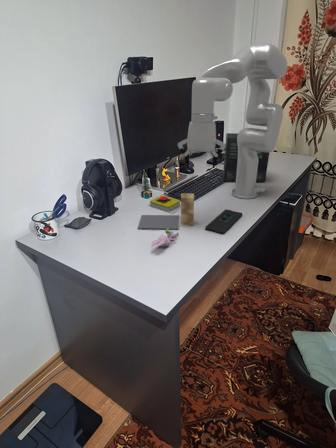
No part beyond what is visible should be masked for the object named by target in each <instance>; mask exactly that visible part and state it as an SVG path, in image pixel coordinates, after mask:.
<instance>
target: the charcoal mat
mask: <svg viewBox="0 0 336 448" xmlns="http://www.w3.org/2000/svg"><path fill="white" fill-rule="evenodd" d="M179 223H180V214H178V215H176V214H174V215H173V214H169V215H167V214H164V215H163V214H141V216H140V220H139V222H138V226H137V230H147V231H148V230H149V231H151V230H152V231H154V230H155V231H159V230H161V231H162V230H164V231H166V229H169V231H179V226H180V225H179Z"/></svg>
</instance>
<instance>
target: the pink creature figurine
mask: <svg viewBox="0 0 336 448" xmlns="http://www.w3.org/2000/svg"><path fill="white" fill-rule="evenodd" d="M173 231H174V230H169V229H166V230H164V232H165V234H166V235H164V234H161V235H160V236H159V237H158V238H156V239H154V240H153V241H152V242H151V247H152V248H153V247H155V249H157V248H159V247H160V246H161V247H165V246H169V245H170V244H171V241H177V238H178V237H179V232H173Z"/></svg>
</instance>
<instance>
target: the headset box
mask: <svg viewBox="0 0 336 448" xmlns="http://www.w3.org/2000/svg"><path fill="white" fill-rule="evenodd" d="M238 133H239V132H238ZM238 133H237V132H236V133H234V132H233V133H232V132H231V133H230V132H228V133H226V134H225V144H226V147H225V148H224V150H225V151H224V158H223V159H224V160H223V169H222V170H223V172H222V179H224V180H223V182H226V183H227V182H229V183H232V182H234V183H236V173H237V162H238V144H237V136H238ZM256 153H257V155H258V169H257V178H256V184H258V183H259V184H260V183H262V184H264V183H266V180H267V179H266V178H267V173H268V170H267V169H268V167H269V166H268V165H269V160H270V159H269V158H270V152H269V153H267V152H259V151H256Z"/></svg>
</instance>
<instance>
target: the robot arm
mask: <svg viewBox="0 0 336 448" xmlns="http://www.w3.org/2000/svg"><path fill="white" fill-rule="evenodd" d="M287 71H288V60H287V57H286V56H285V54H284V53H283V52H282V51H281V50H280V49H279V48H278V47H277V46H275V45H274V44H272V43H259V44H258V43H254V44H248V45H245V46H244V47H242V48H241V49H240V50H239V51H238V52H237V53H236V54H235V55H234V56H233V57H232V58H231V59H229V60H227V61H225V62H222V63H220V64H217V65H214V66H213V67H210V68H209V69H207V70H205V71H204V72H203V73H201V74H200V75H199V76H198V77H197V78H196V79H195V80H193V82H192V86H191V119H190V121H189V125H188V131H187V138H185V139H183V140H181V141H179V142H177V147H178V149H179V150H180V152H181V153H182V155H183V156H184V165H185V166H186V168H188V167H189V166H190V153H191V152H195V153H197V152H200V153H211V154H212V155H213V157H212V168H213V169H215V166H217V165H218V164H217V162H218V156H219V155H221V154H222V153H223V151H224V150H225V147H226V142H225V143H224V142H223V141H221V140H219V139H217V127H216V122H215V120H218V118H219V117H218V114H215V113H214V111H215V110H214V109H215V108H214V107H215V102H225V101H227V100H228V99H230V98H231V96H232V95H233V90H234V86H233V85H234V84H237V83H240V82H242V81H244V79H245V78H246V77H247V79H248V82H249V86H250V88H249V89H250V93H249V99H248V104H247V108H246V113H245V121H246V123H247V124H248V125H252V126H258V127H259V126H260V127H266V129H263V128H262V129H261V128H257V127H256V128H253V127H246V128H242V129H241V130H239V132H238V136H237V144H238V162H237V173H236V182H235V186H234V187H235V188H234V189H232V190H231V195H232V196H233V197H235V198H237V199H242V200H243V199H245V200H249V199H250V200H251V199H255V198H257V197H258V195H259V193H260V192H261V193H265V192H266V187H262V186H257V185H256V184H257V183H256V178H257V169H258V155H257V153H256V151H259V152H267V153H269V154H270V153H272V152H274V150H275V148H276V147H277V143H278V139H279V135H280V131H281V128H282V123H283V120H284V119H283V118H284V109H283V107H282V105H280V104H278V103H270V97H271V88H270V85H269V83H268V82H267V80H280V79H282V78H283V77H285V75H286V73H287ZM183 145H186V147H187V149H185V148H184V146H183ZM217 145H218V146H220V148H219V149H218V150H217V149H216V146H217Z"/></svg>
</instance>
